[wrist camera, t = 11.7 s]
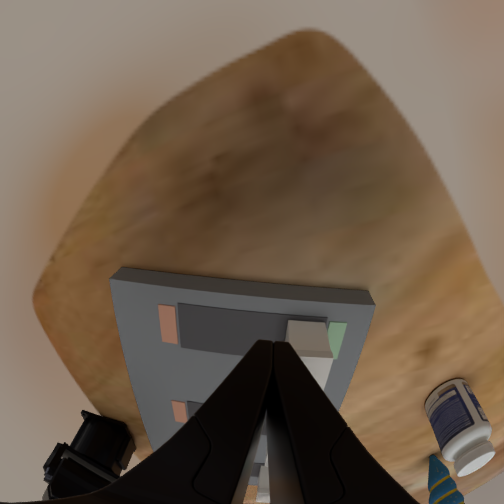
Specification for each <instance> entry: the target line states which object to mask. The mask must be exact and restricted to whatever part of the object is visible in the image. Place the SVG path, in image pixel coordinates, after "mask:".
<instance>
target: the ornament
mask: <svg viewBox="0 0 504 504" xmlns="http://www.w3.org/2000/svg"><path fill="white" fill-rule="evenodd" d="M428 490H429V492H430V497H429V504H465V503H464V497H463V495H462V494H461V493H460V492H459V491H458V490H457V486H456V483H455V481H454V480H453V479H452V478H451V477H450V473H449V470H448V468H447V467H446V466H445V465H444V464H443V463H442V462H441V461H440V460H439V459H438V458H437V457H436V456H435V455H431V456H430V460H429V478H428Z"/></svg>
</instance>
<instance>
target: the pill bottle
mask: <svg viewBox="0 0 504 504" xmlns="http://www.w3.org/2000/svg"><path fill="white" fill-rule="evenodd" d="M425 410H426V413H427V416H428V418H429V421H430V423H431V426H432V428H433V431H434V433H435V436H436V439H437V441H438V444H439V447H440V450H441V453H442V455H443V457H444V459H445V460H447V461H455V462H454V468H455V471H456V473H457V475H458V476H460V477H461V476H465V475H468V474H470V473H472V472H474V471H476V470H477V469H479V468H481V467H482V466H483V465H485V464H486V463H487V462H488V461H490V460H491V459H492V457H493V456H494V454H495V451H494V448H493V445H492V443H491V442H490V441H487V440H488V439H489V437H490V435H491V431H492V428H491V425H490V423H489V421H488V419H487V417H486V415H485V413H484V412H483V410H482V408H481V406H480V404H479V402H478V401H477V399H476V397H475V395H474V393H473V392H472V390H471V388H470V387H469V385H468V384H467V382H466V381H465V380H463V379H454V380H451V381H448V382H446V383H444V384H442V385H441V386H439V387H438V388H437V389H436V390H435V391H433V393H432V394H431V395H430V396H429V398H428V399H427V401H426V404H425Z"/></svg>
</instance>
